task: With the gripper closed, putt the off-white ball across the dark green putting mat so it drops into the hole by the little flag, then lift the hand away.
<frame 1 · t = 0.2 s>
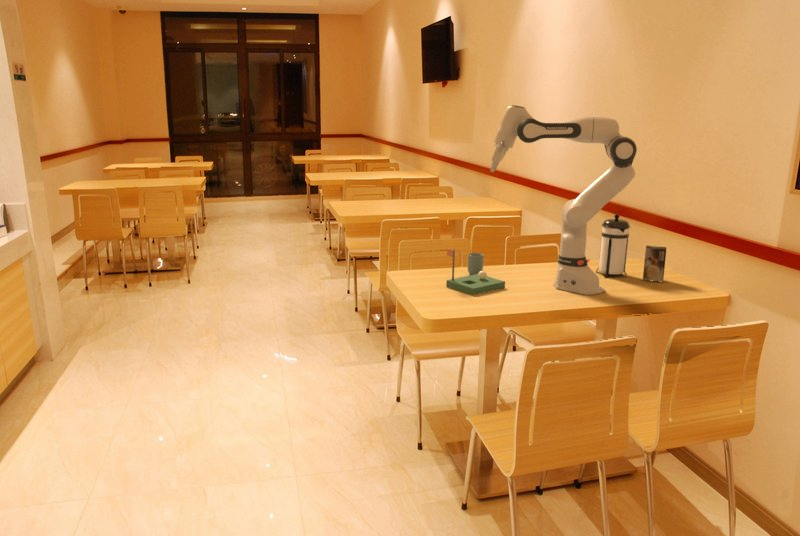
hand: (492, 170, 277), 51 cm above the table, tool tilted 20°, fingers open, 8 cm apart
cup: (474, 274, 300), on the table
coffee press: (609, 274, 304), on the table
ball: (482, 275, 279), point 5 cm above the table, touching putting green
putting green: (475, 287, 278), on the table
coffee box: (652, 280, 294), on the table
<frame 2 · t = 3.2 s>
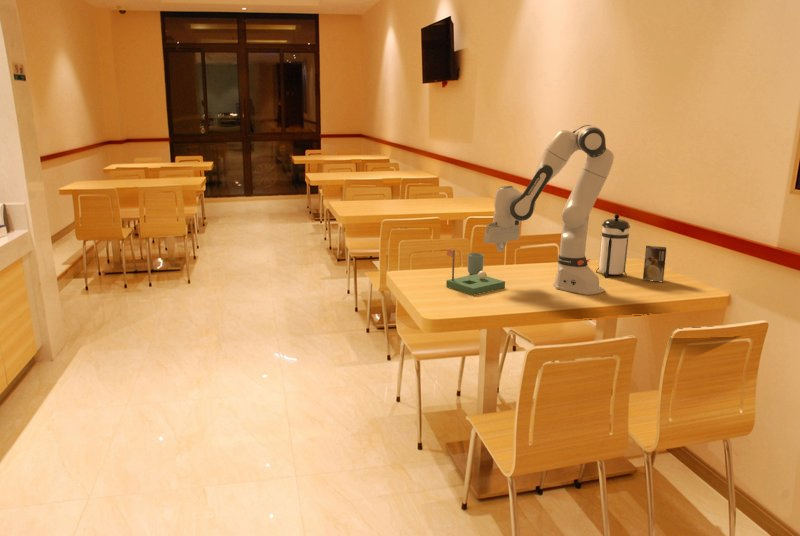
hand: (500, 251, 284), 15 cm above the table, tool pointing down, fingers closed
nothing on the table moved.
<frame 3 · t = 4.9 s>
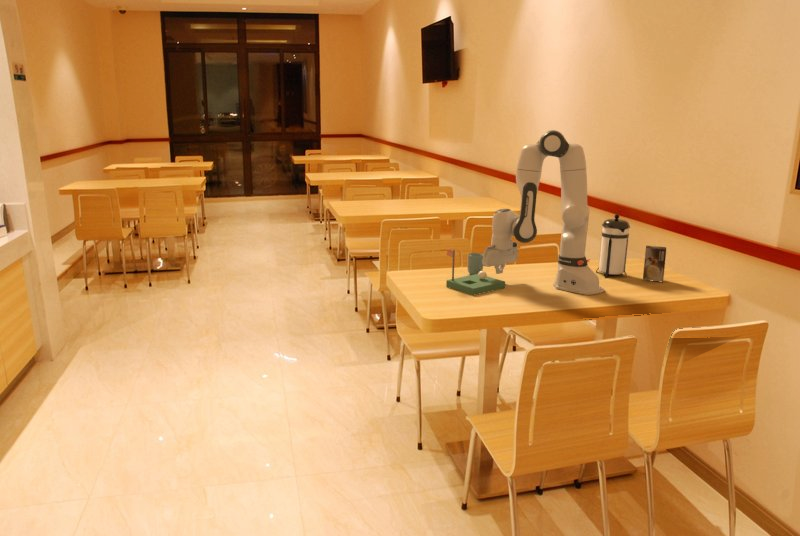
hand: (499, 273, 286), 4 cm above the table, tool pointing down, fingers closed
nothing on the table moved.
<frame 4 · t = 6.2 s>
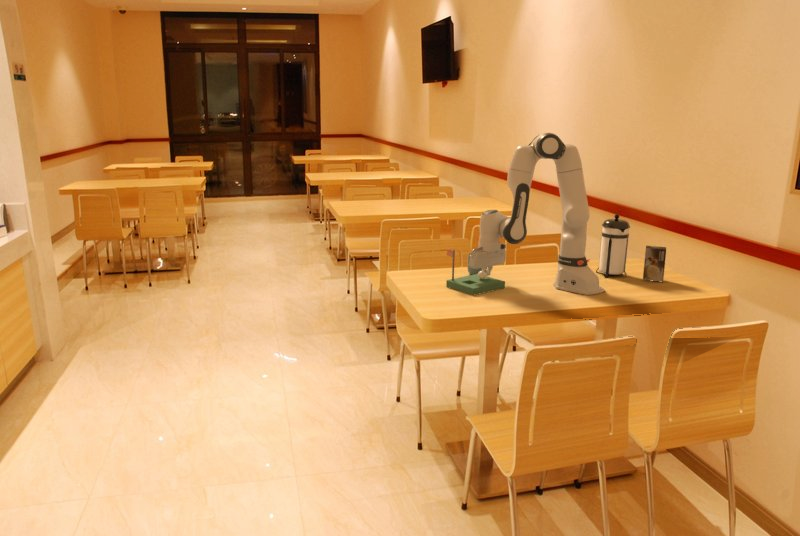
hand: (486, 275, 282), 4 cm above the table, tool pointing down, fingers closed
ball: (482, 275, 279), point 5 cm above the table, touching gripper
everything else where it was.
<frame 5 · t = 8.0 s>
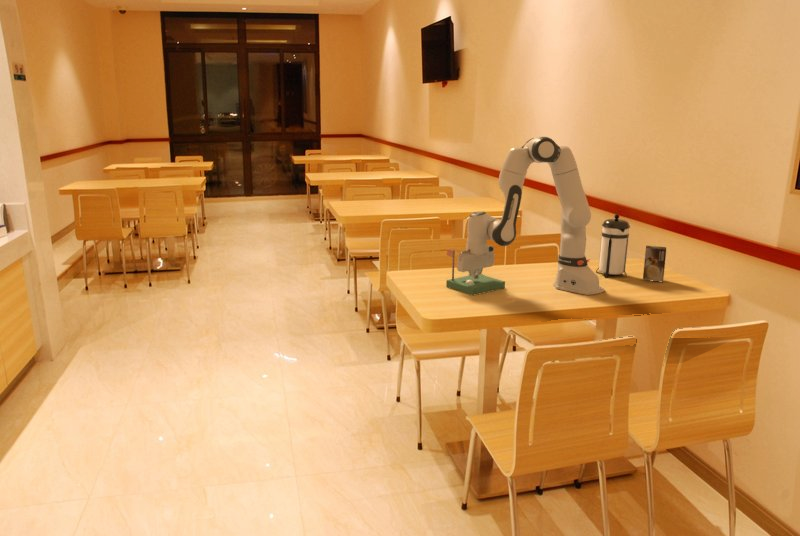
hand: (475, 278, 277), 4 cm above the table, tool pointing down, fingers closed
ball: (469, 284, 275), point 2 cm above the table, tilted 91°
everything else where it was.
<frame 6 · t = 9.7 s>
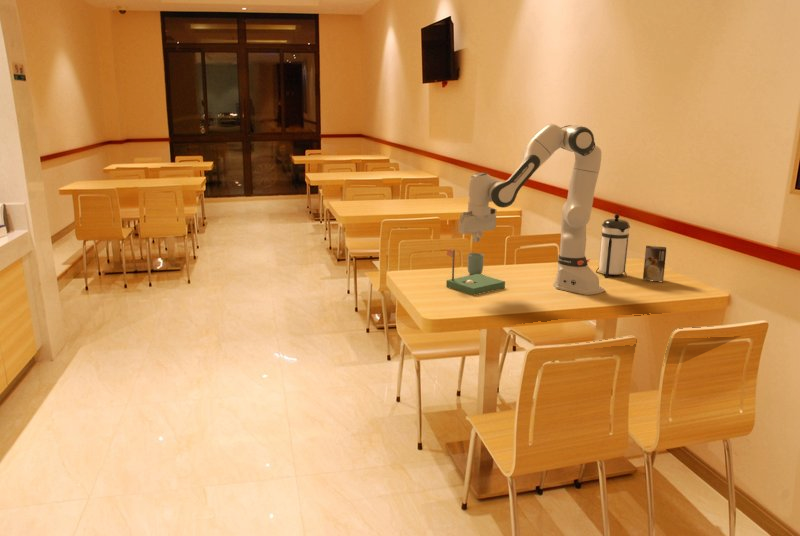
hand: (476, 241, 273), 21 cm above the table, tool pointing down, fingers closed
nothing on the table moved.
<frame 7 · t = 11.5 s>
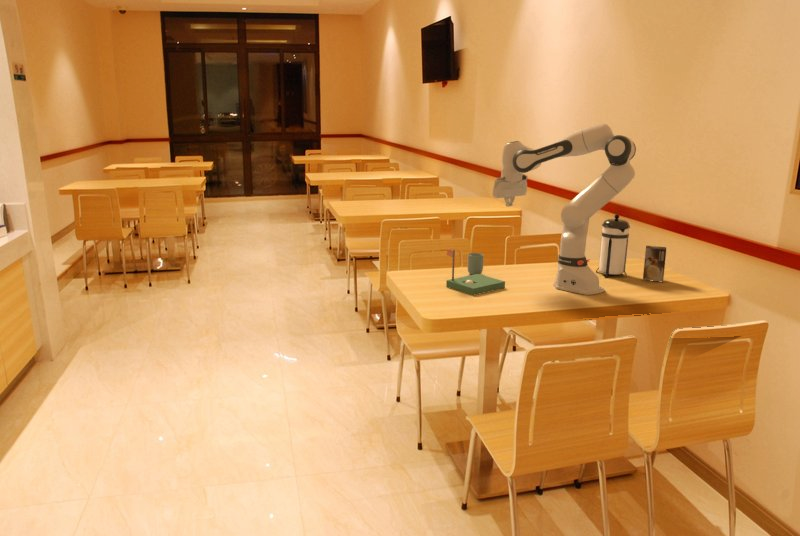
hand: (509, 206, 291), 34 cm above the table, tool pointing down, fingers closed
ball: (469, 284, 275), point 2 cm above the table, tilted 86°
everything else where it was.
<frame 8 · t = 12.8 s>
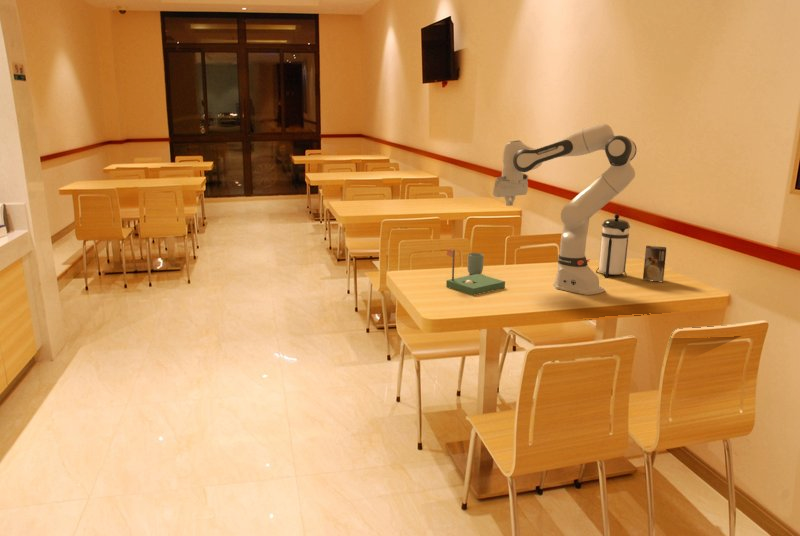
hand: (509, 205, 291), 34 cm above the table, tool pointing down, fingers closed
ball: (468, 284, 275), point 2 cm above the table, tilted 79°
everything else where it was.
at the end: ball 0.2 cm from the target spot on the putting green, point 2.0 cm above the putting green's base; ball touching table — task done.
